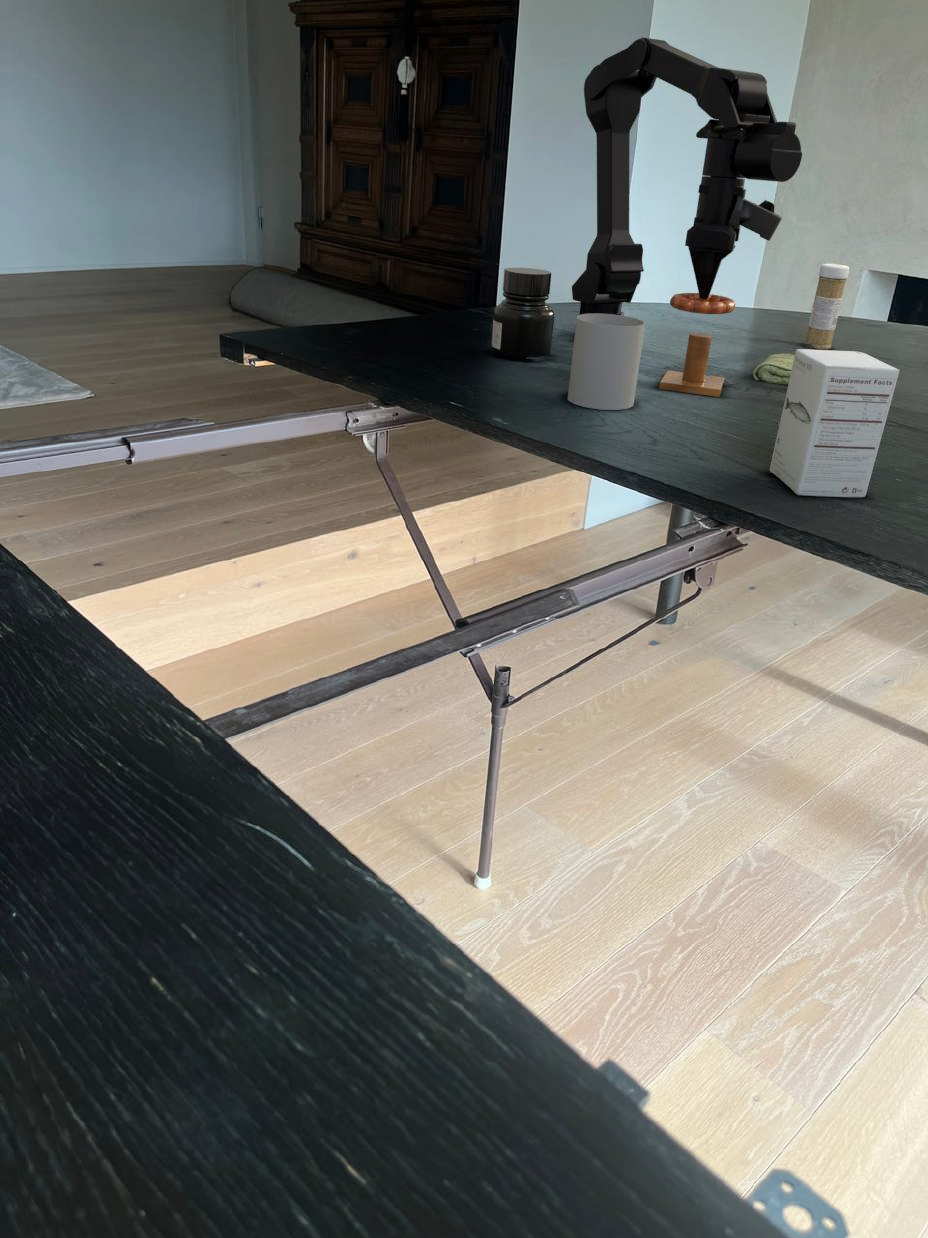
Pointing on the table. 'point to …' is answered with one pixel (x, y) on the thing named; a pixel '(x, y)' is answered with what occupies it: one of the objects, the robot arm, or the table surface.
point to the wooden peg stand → (694, 370)
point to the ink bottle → (523, 315)
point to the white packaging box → (832, 422)
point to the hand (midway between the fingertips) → (704, 297)
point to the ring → (702, 303)
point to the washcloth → (775, 369)
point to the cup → (605, 361)
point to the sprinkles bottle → (826, 305)
